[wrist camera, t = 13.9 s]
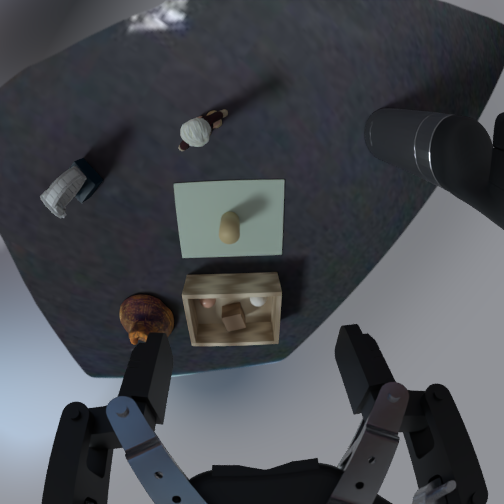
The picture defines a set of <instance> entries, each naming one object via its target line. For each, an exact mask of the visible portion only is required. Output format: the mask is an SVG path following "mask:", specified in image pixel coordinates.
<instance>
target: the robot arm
mask: <svg viewBox="0 0 504 504" xmlns="http://www.w3.org/2000/svg"><path fill="white" fill-rule="evenodd" d="M365 140H366V144H367V146H368V149H369V150H370V152H371V153H372V154H373V155H374V156H375V157H376V158H378V159H379V160H382V161H384V162H387V163H389V164H391V165H393V166H396V167H398V168H400V169H403V170H405V171H407V172H409V173H412V174H414V175H416V176H418V177H420V178H422V179H424V180H427V181H429V182H431V183H433V184H435V185H437V186H439V187H441V188H443V189H445V190H447V191H449V192H450V193H452V194H453V195H454V196H456V197H457V198H459V199H461V200H462V201H464V202H466V203H467V204H469V205H470V206H472V207H473V208H475V209H476V210H478V211H479V212H481V213H482V214H483V215H485V216H486V217H487V218H489V219H490V220H491V221H493V222H494V223H495V224H497V225H498V226H499V227H501V228H502V229H503V230H504V112H503V113H501V114H499V115H498V116H497V118H496V120H495V126H494V135H493V145H492V142H491V139H490V136H489V135H488V133H487V131H486V130H485V128H484V127H483V126H482V125H481V124H480V123H479V122H478V121H476V120H474V119H472V118H470V117H466V116H460V115H453V114H446V113H437V112H429V111H419V110H408V109H394V108H382V109H379V110H377V111H375V112H374V113H373V114H372V115H371V116H370V117H369V119H368V120H367V123H366V126H365ZM493 147H494V148H493ZM335 359H336V362H337V365H338V368H339V371H340V374H341V377H342V379H343V383H344V386H345V389H346V392H347V395H348V398H349V401H350V404H351V407H352V410H353V414H359V413H362V416H363V419H362V421H361V423H360V425H359V428H358V429H357V432H356V434H355V436H354V438H353V440H352V442H351V444H350V446H349V448H348V450H347V451H346V453H345V455H344V456H343V458H342V459H341V461H340V463H339V464H338V466H337V467H335V466H332V465H328V464H323V463H318V458H314V459H308V460H301V461H292V462H290V463H287V464H284V465H281V466H277V467H274V468H271V469H267V470H262V469H257V468H250V467H245V466H240V465H212V470H210V471H206V472H203V473H201V474H198V475H196V476H194V477H192V478H191V479H190V480H189V479H188V478H187V477H186V475H185V474H184V472H183V471H182V470H181V469H180V467H179V466H178V465H177V464H176V462H175V461H174V459H173V458H172V457H171V455H170V454H169V452H168V451H167V450H166V448H165V447H164V445H163V444H162V443H161V441H160V440H159V438H158V436H157V435H156V433H155V432H154V431H155V425H156V424H163V422H164V416H165V409H166V403H167V397H168V391H169V386H170V380H171V374H172V369H173V355H172V351H171V348H170V345H169V341H168V338H167V335H166V333H157V332H150V333H149V334H148V337H147V340H146V343H139V344H138V345H137V346H136V347H135V348H134V350H133V351H132V354H131V357H130V361H129V363H128V366H127V369H126V372H125V375H124V378H123V382H122V385H121V388H120V391H119V394H118V397H116V398H114V399H112V400H111V401H110V402H109V403H108V405H107V406H103V407H96V408H87V407H86V405H85V404H83V403H81V402H72V403H70V404H68V405H67V406H66V407H65V408H64V410H63V412H62V415H61V418H60V422H59V425H58V429H57V432H56V436H55V440H54V444H53V448H52V452H51V456H50V460H49V465H48V469H47V474H46V480H45V485H44V491H43V497H42V504H107V500H108V489H109V479H110V471H111V463H112V456H113V449H115V448H123V449H124V450H125V453H126V454H125V456H126V459H127V461H128V462H129V464H130V466H131V468H132V469H133V471H134V472H135V474H136V476H137V478H138V479H139V481H140V482H141V484H142V485H143V487H144V489H145V490H146V492H147V493H148V495H149V496H150V498H151V499H152V500H153V502H154V503H155V504H392V503H390V502H389V501H387V500H386V499H384V498H383V497H381V496H379V495H378V494H377V493H378V491H379V489H380V487H381V485H382V483H383V480H384V478H385V476H386V474H387V471H388V469H389V467H390V464H391V462H392V459H393V456H394V454H395V451H396V448H397V446H398V443H399V437H398V432H403V434H404V437H405V440H406V444H407V447H408V450H409V454H410V457H411V461H412V465H413V468H414V472H415V475H416V480H417V484H418V487H419V490H417V492H416V493H415V495H414V497H413V503H412V504H486V502H487V499H488V491H487V487H486V484H485V480H484V478H483V474H482V471H481V468H480V465H479V462H478V459H477V456H476V454H475V451H474V448H473V445H472V443H471V440H470V437H469V435H468V432H467V430H466V428H465V425H464V423H463V420H462V418H461V416H460V413H459V411H458V409H457V407H456V404H455V402H454V400H453V398H452V396H451V394H450V392H449V390H448V389H447V388H446V387H445V386H443V385H441V384H432V385H430V386H429V387H428V388H427V389H426V391H410V390H407V389H406V388H405V387H404V386H403V385H402V384H400V383H397V382H396V381H395V380H394V378H393V375H392V373H391V371H390V369H389V368H388V365H387V363H386V361H385V359H384V357H383V355H382V353H381V351H380V350H379V347H378V345H377V343H376V341H375V340H374V339H373V338H372V337H371V336H370V335H369V334H362V331H361V329H360V327H359V326H358V325H357V324H353V325H345V326H341V328H340V331H339V335H338V339H337V343H336V346H335Z"/></svg>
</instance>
